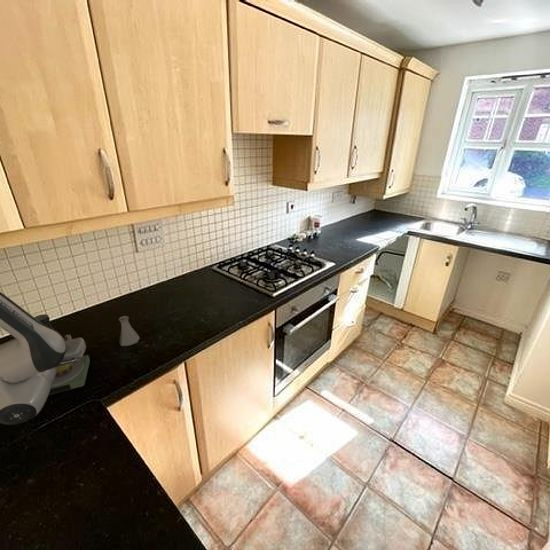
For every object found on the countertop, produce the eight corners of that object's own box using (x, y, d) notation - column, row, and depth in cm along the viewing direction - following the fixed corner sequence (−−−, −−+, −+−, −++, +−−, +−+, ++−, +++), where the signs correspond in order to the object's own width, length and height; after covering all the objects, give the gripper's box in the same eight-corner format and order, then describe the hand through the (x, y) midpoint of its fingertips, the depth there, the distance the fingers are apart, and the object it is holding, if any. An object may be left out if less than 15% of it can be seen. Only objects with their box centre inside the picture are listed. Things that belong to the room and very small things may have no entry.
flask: (140, 333, 118) (134, 311, 114) (139, 343, 112) (133, 321, 108) (120, 337, 116) (113, 315, 112) (118, 348, 110) (111, 325, 106)
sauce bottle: (76, 370, 96) (56, 317, 87) (53, 381, 91) (30, 326, 83) (69, 361, 100) (49, 309, 91) (47, 371, 95) (24, 318, 87)
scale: (33, 400, 89) (30, 392, 87) (46, 370, 100) (42, 363, 99) (83, 386, 93) (81, 379, 92) (90, 360, 104) (87, 353, 103)
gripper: (78, 350, 82) (86, 324, 94) (-15, 371, 75) (6, 340, 87) (85, 368, 85) (91, 340, 96) (-5, 390, 78) (14, 357, 90)
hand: (50, 340), depth 92 cm, fingers open, 8 cm apart
